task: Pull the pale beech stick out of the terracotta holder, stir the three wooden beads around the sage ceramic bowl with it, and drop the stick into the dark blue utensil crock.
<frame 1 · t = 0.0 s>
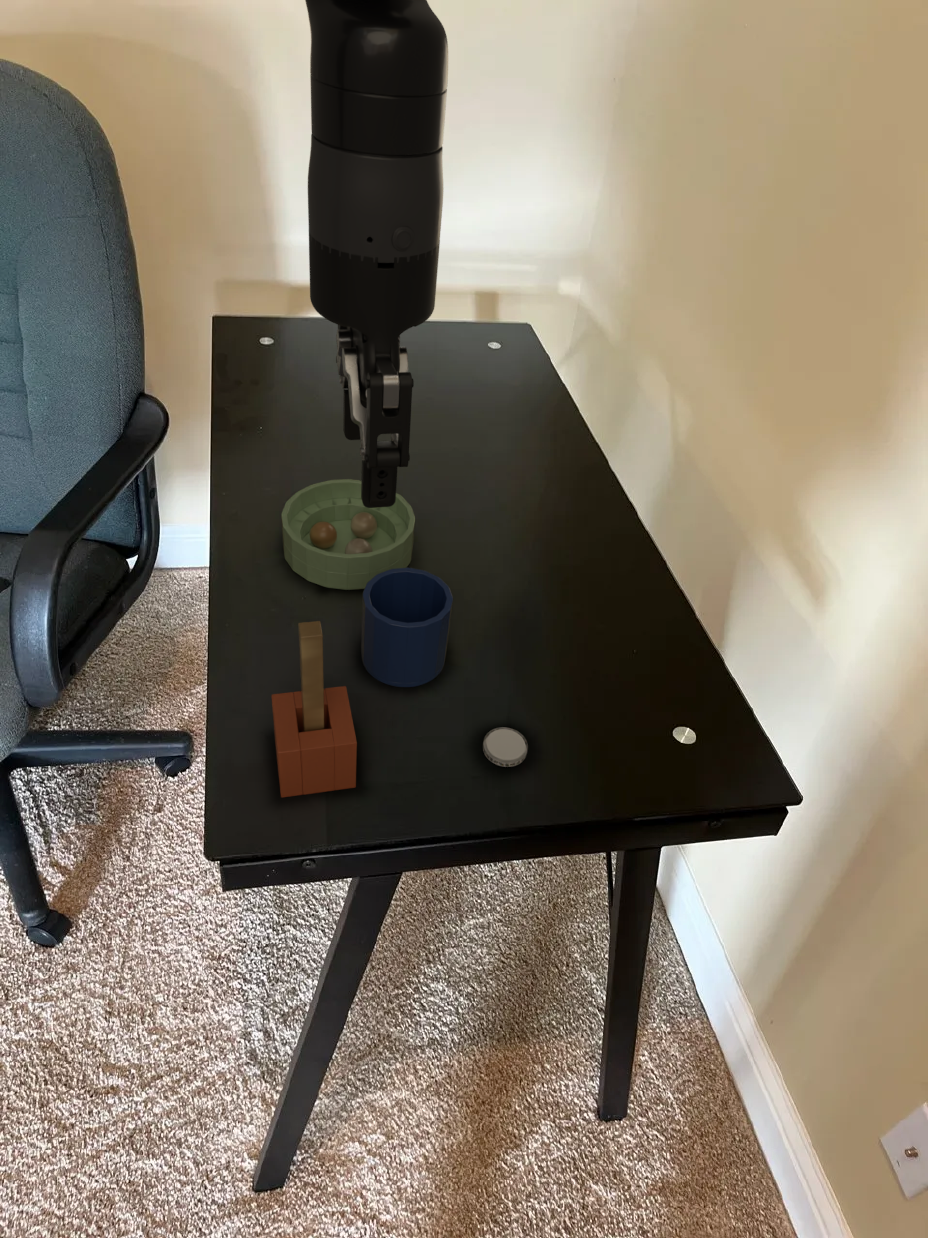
hand: (368, 469, 58), 26 cm above the table, tool pointing down, fingers open, 8 cm apart
crock: (403, 656, 81), on the table
bowl: (348, 552, 93), on the table
bead b: (323, 535, 91), point 2 cm above the table, touching bowl
grey bottle cap: (504, 750, 74), on the table
bead c: (358, 552, 89), point 2 cm above the table, touching bowl
stick: (312, 701, 66), in the holder
holder: (314, 763, 71), on the table
bead a: (363, 525, 93), point 2 cm above the table, touching bowl
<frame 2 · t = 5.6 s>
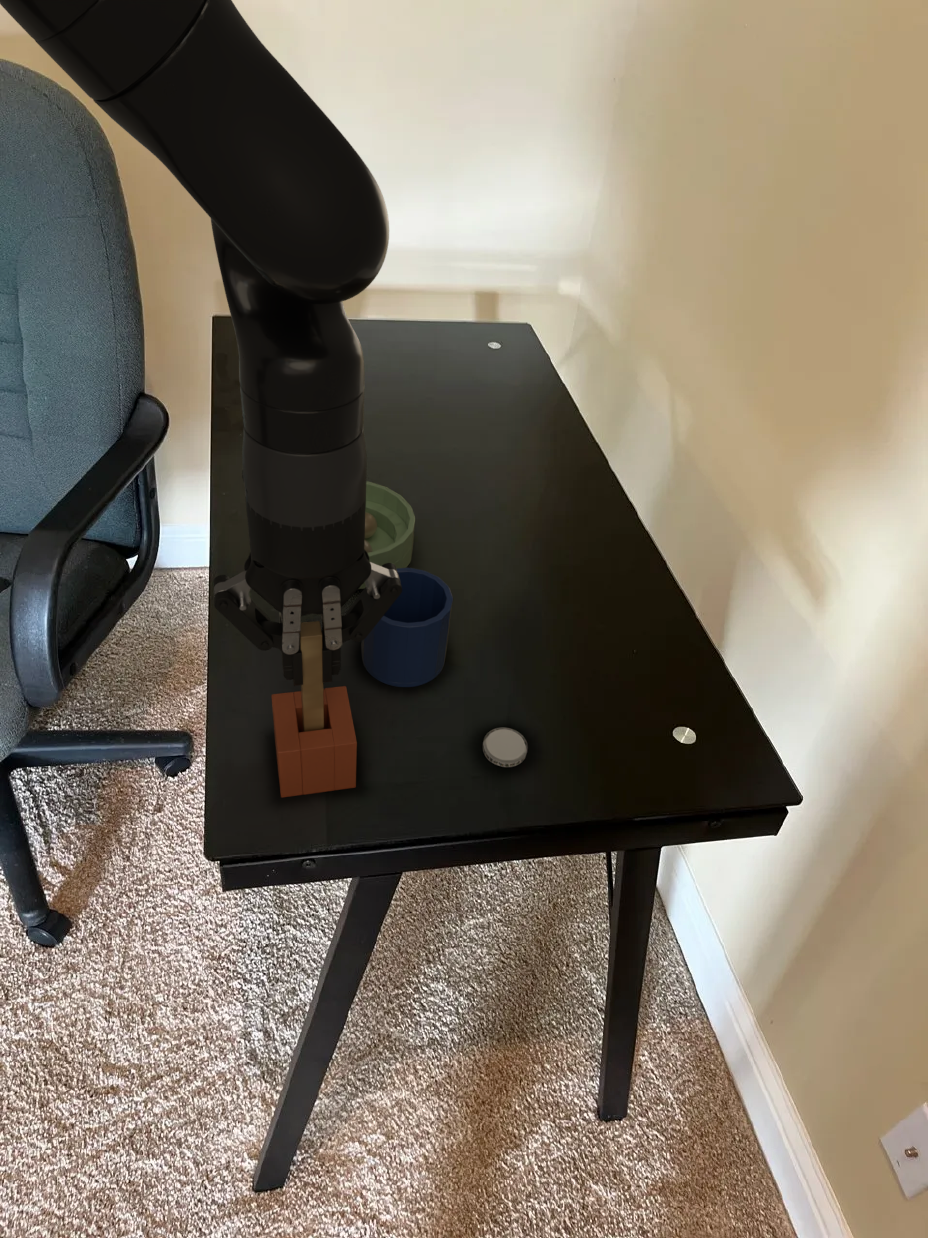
hand: (312, 675, 64), 11 cm above the table, tool pointing down, fingers closed on stick
stick: (312, 701, 66), in the holder, touching gripper
everything else where it was.
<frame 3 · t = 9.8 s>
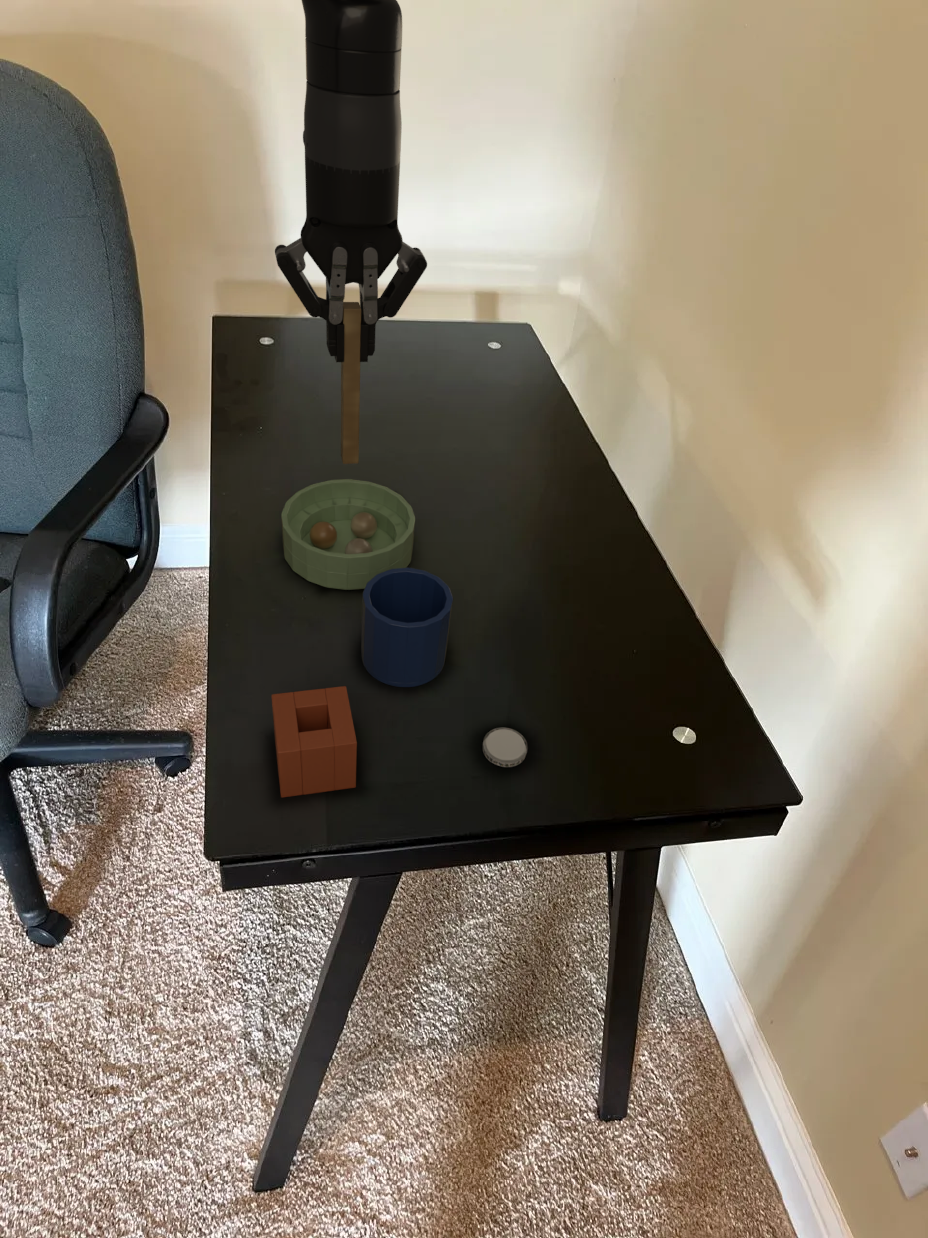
hand: (350, 357, 77), 23 cm above the table, tool pointing down, fingers closed on stick, 1 cm apart
stick: (350, 387, 79), point 20 cm above the table, touching gripper
everything else where it was.
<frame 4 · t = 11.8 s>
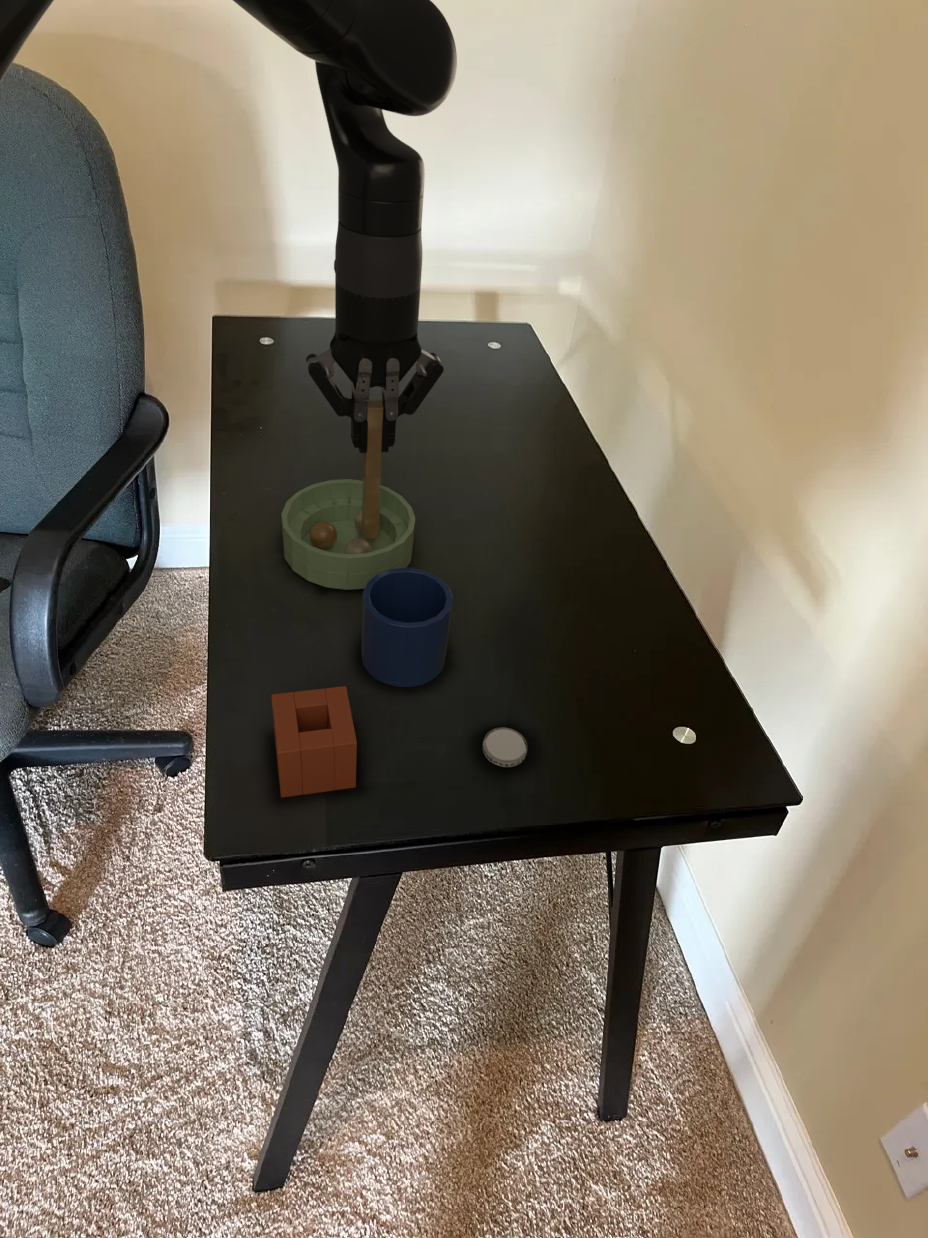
hand: (372, 448, 84), 13 cm above the table, tool pointing down, fingers closed on stick, 1 cm apart
stick: (371, 473, 86), point 10 cm above the table, touching gripper
bead a: (368, 522, 94), point 2 cm above the table, tilted 30°, touching bowl
everything else where it was.
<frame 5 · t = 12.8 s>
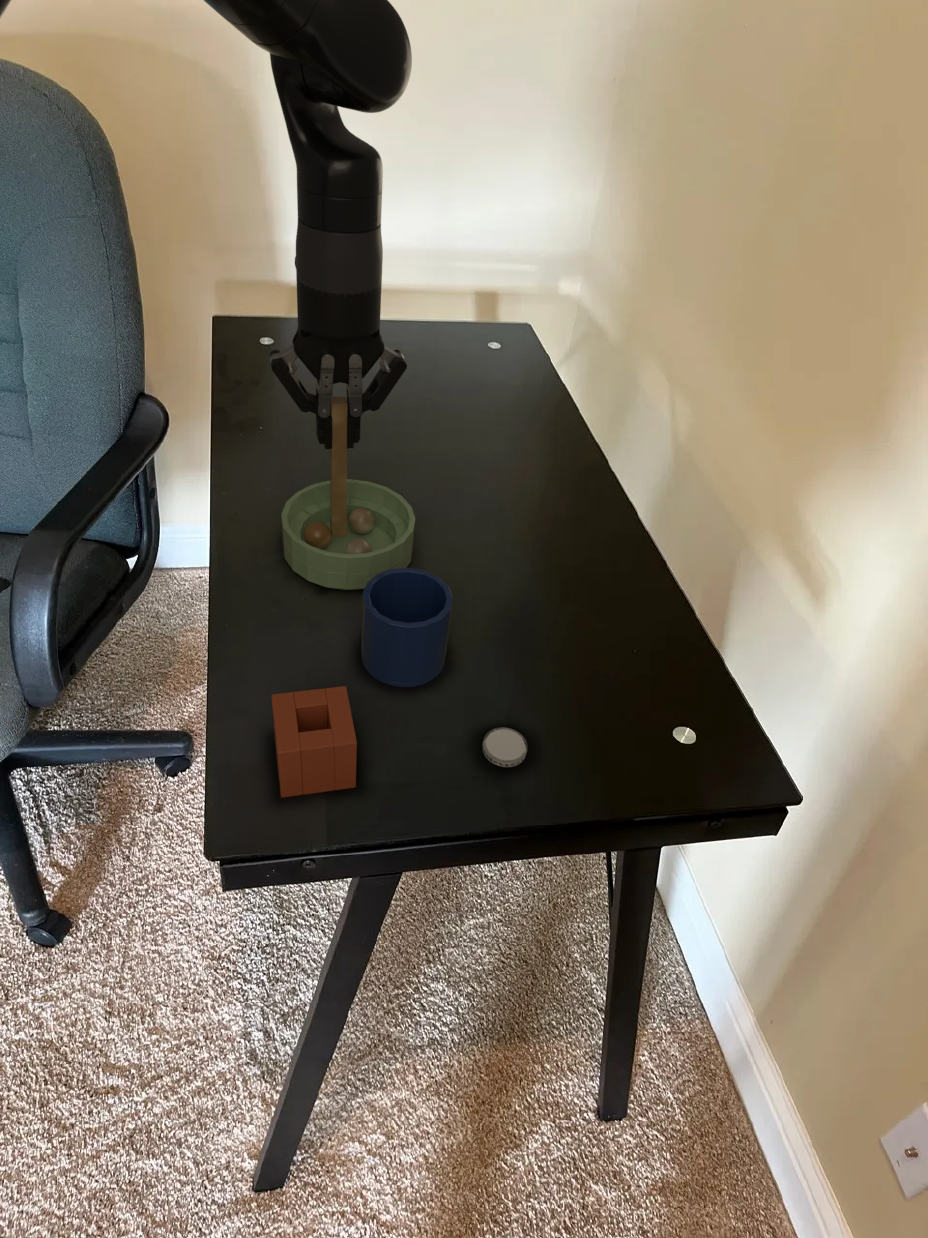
hand: (338, 444, 85), 13 cm above the table, tool pointing down, fingers closed on stick, 1 cm apart
bead b: (317, 535, 91), point 2 cm above the table, tilted 24°, touching bowl
stick: (338, 470, 87), point 10 cm above the table, touching gripper
bead a: (361, 520, 94), point 2 cm above the table, tilted 22°, touching bowl
everything else where it was.
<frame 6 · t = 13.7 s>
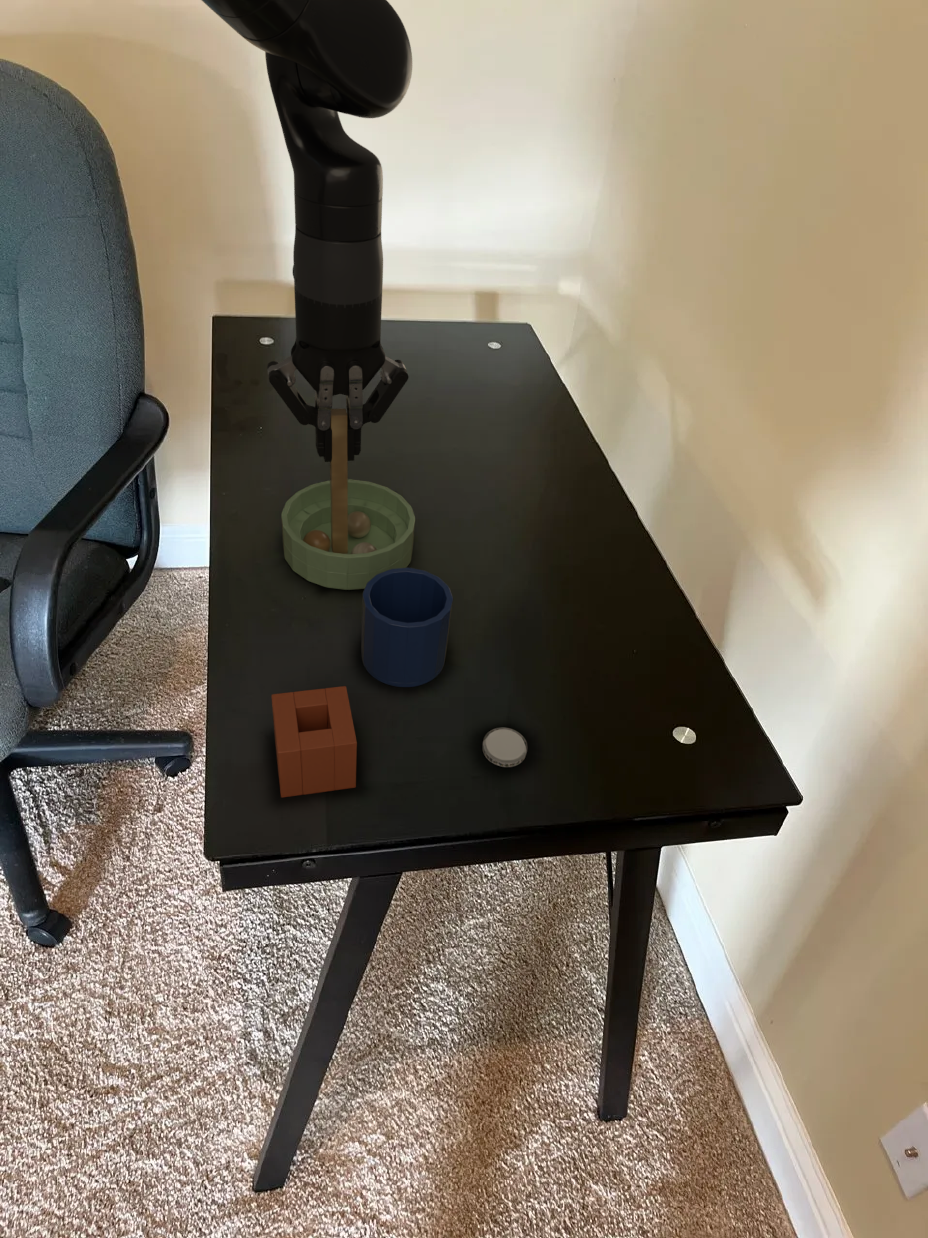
hand: (338, 456, 83), 13 cm above the table, tool pointing down, fingers closed on stick, 1 cm apart
bead b: (316, 543, 90), point 2 cm above the table, tilted 40°, touching bowl
bead c: (364, 556, 89), point 2 cm above the table, tilted 36°, touching bowl
stick: (338, 485, 84), in the bowl, point 10 cm above the table, touching gripper
bead a: (357, 524, 93), point 2 cm above the table, tilted 10°, touching bowl
everything else where it was.
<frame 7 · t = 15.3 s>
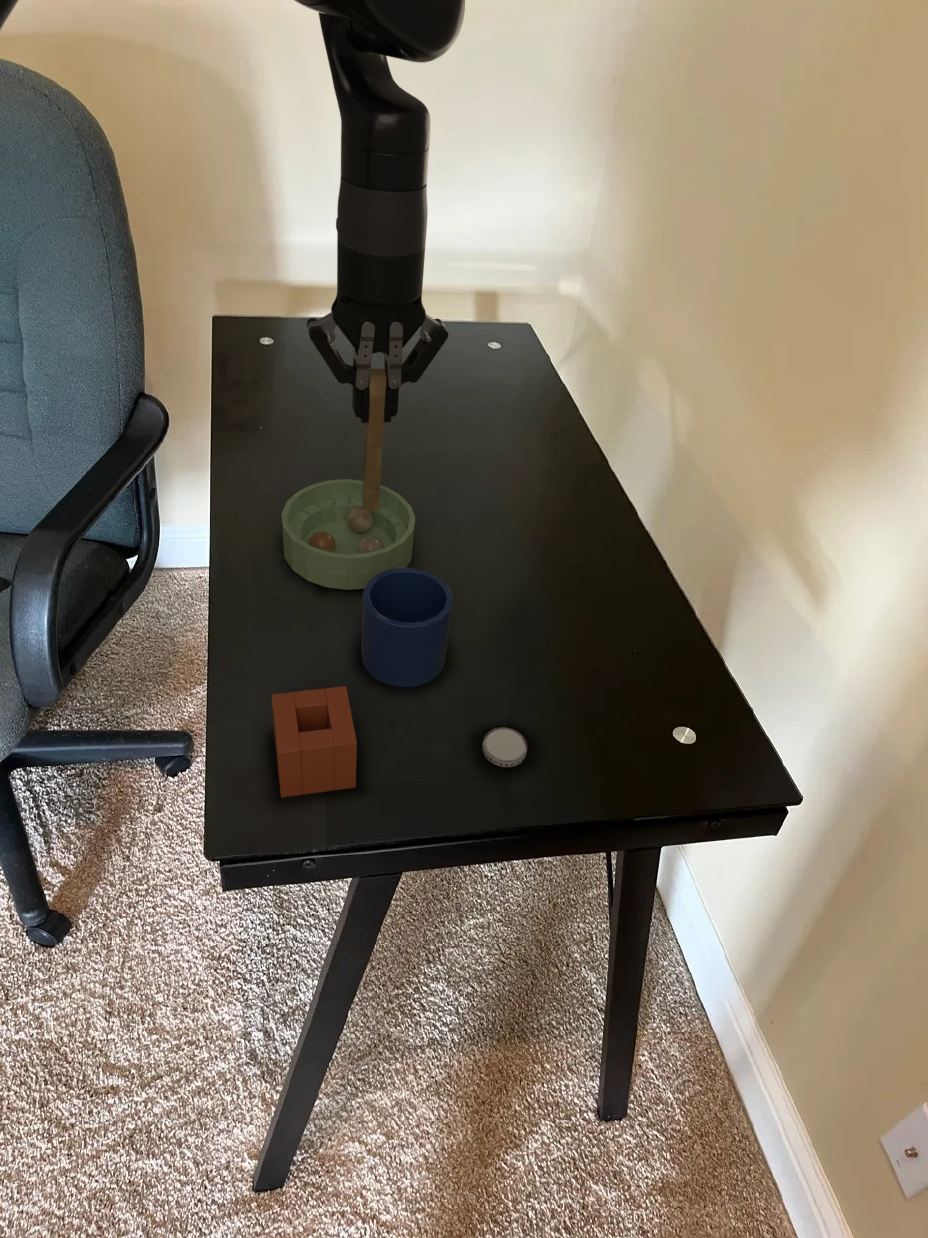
hand: (374, 418, 82), 17 cm above the table, tool pointing down, fingers closed on stick, 1 cm apart
bead b: (321, 545, 90), point 2 cm above the table, tilted 18°, touching bowl
bead c: (370, 550, 90), point 2 cm above the table, tilted 23°, touching bowl
stick: (373, 443, 84), point 14 cm above the table, touching gripper
bead a: (360, 519, 94), point 2 cm above the table, tilted 29°, touching bowl
everything else where it was.
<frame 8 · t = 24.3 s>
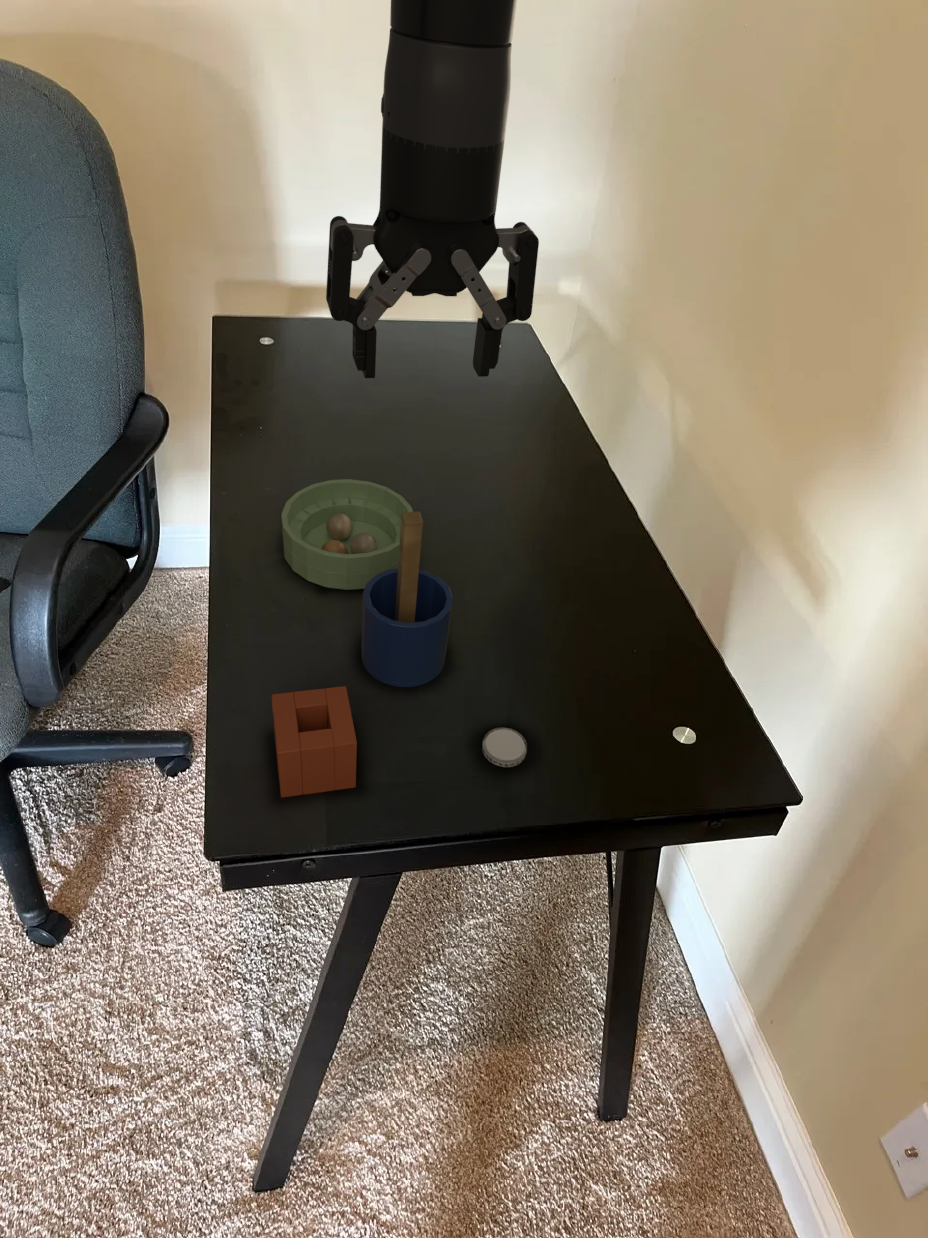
hand: (425, 372, 61), 30 cm above the table, tool pointing down, fingers open, 8 cm apart
bead b: (334, 553, 89), point 2 cm above the table, tilted 55°, touching bowl
bead c: (363, 546, 90), point 2 cm above the table, tilted 27°, touching bowl
stick: (407, 587, 76), in the crock, point 9 cm above the table
bead a: (339, 526, 92), point 2 cm above the table, tilted 84°, touching bowl
everything else where it was.
at the end: stick inside the target area in the crock (0.5 cm from its centre), point 8.6 cm above the crock's base; the gripper is holding nothing; bead a moved 2.7 cm from its start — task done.
